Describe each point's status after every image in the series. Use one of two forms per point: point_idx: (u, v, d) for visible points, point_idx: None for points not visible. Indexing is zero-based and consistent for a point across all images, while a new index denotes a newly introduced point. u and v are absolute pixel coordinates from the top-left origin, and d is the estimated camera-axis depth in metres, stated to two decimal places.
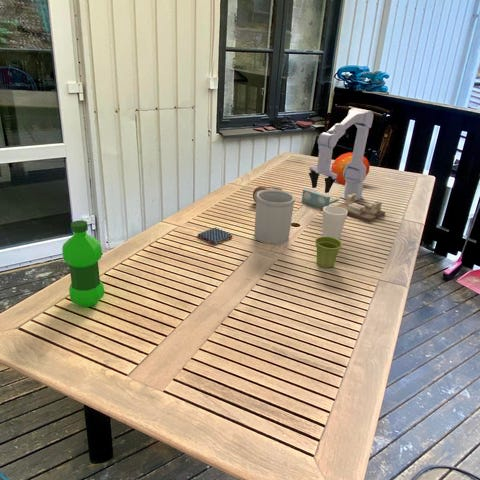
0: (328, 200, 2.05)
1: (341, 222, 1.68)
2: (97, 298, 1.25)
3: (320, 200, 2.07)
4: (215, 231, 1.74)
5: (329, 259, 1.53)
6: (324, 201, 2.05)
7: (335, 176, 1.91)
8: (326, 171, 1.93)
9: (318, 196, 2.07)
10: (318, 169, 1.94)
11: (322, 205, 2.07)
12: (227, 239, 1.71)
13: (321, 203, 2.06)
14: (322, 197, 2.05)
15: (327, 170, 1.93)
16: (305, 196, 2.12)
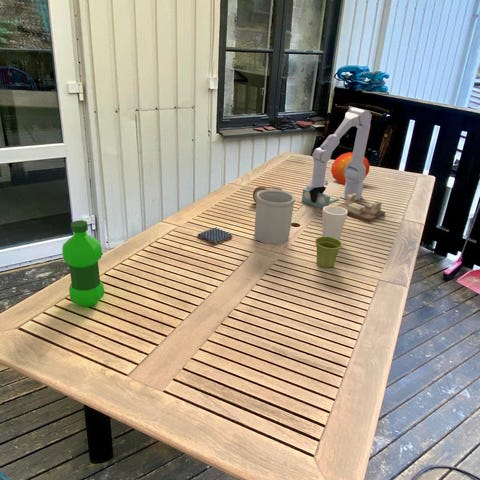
0: (328, 200, 2.05)
1: (341, 222, 1.68)
2: (97, 298, 1.25)
3: (320, 200, 2.07)
4: (215, 231, 1.74)
5: (329, 259, 1.53)
6: (324, 200, 2.05)
7: (308, 187, 2.02)
8: (312, 183, 2.05)
9: (318, 196, 2.07)
10: None
11: (322, 204, 2.07)
12: (227, 239, 1.70)
13: (322, 203, 2.06)
14: (322, 197, 2.05)
15: (313, 182, 2.05)
16: (305, 195, 2.12)
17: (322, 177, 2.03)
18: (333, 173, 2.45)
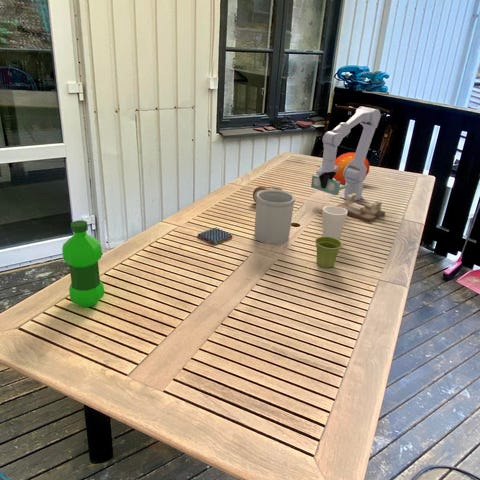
0: (338, 186, 2.00)
1: (341, 222, 1.68)
2: (97, 298, 1.25)
3: (330, 186, 2.02)
4: (215, 231, 1.74)
5: (329, 259, 1.53)
6: (334, 186, 2.00)
7: (318, 172, 1.97)
8: (322, 167, 2.00)
9: (328, 182, 2.02)
10: None
11: (332, 190, 2.02)
12: (227, 239, 1.70)
13: (332, 189, 2.01)
14: (332, 182, 2.00)
15: (323, 167, 2.00)
16: (314, 181, 2.07)
17: (332, 162, 1.98)
18: None
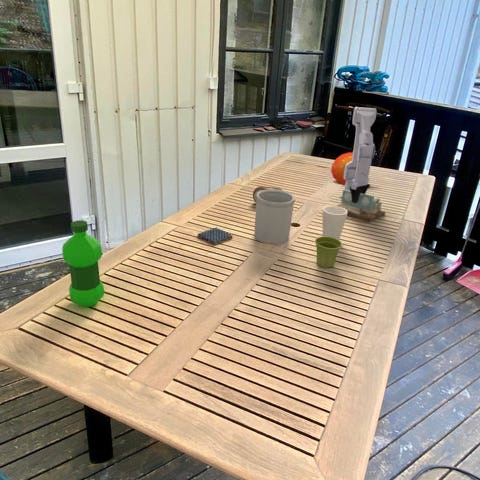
0: (372, 200, 1.96)
1: (341, 222, 1.68)
2: (97, 298, 1.25)
3: (364, 201, 1.97)
4: (215, 231, 1.74)
5: (329, 259, 1.53)
6: (368, 201, 1.95)
7: (353, 186, 1.91)
8: (356, 181, 1.94)
9: (361, 197, 1.97)
10: None
11: (366, 205, 1.97)
12: (227, 239, 1.70)
13: (365, 204, 1.97)
14: (366, 197, 1.95)
15: (357, 180, 1.94)
16: (345, 197, 2.02)
17: (367, 175, 1.92)
18: (333, 173, 2.45)
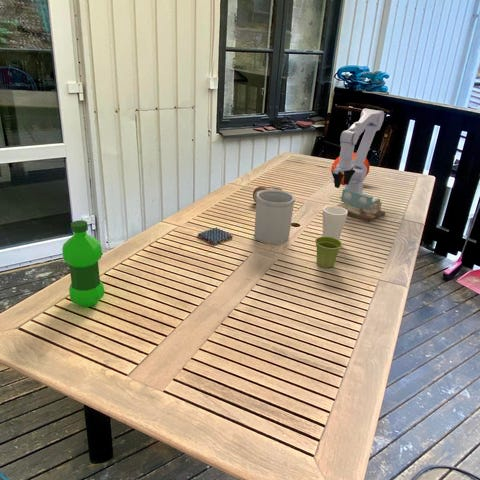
0: (371, 200, 1.95)
1: (341, 222, 1.68)
2: (97, 298, 1.25)
3: (362, 200, 1.97)
4: (215, 231, 1.74)
5: (329, 259, 1.53)
6: (366, 201, 1.95)
7: (335, 171, 1.99)
8: (339, 166, 2.02)
9: (360, 196, 1.97)
10: None
11: (364, 205, 1.97)
12: (227, 239, 1.70)
13: (363, 203, 1.97)
14: (364, 197, 1.96)
15: (340, 165, 2.01)
16: (345, 196, 2.03)
17: (349, 160, 1.99)
18: None
